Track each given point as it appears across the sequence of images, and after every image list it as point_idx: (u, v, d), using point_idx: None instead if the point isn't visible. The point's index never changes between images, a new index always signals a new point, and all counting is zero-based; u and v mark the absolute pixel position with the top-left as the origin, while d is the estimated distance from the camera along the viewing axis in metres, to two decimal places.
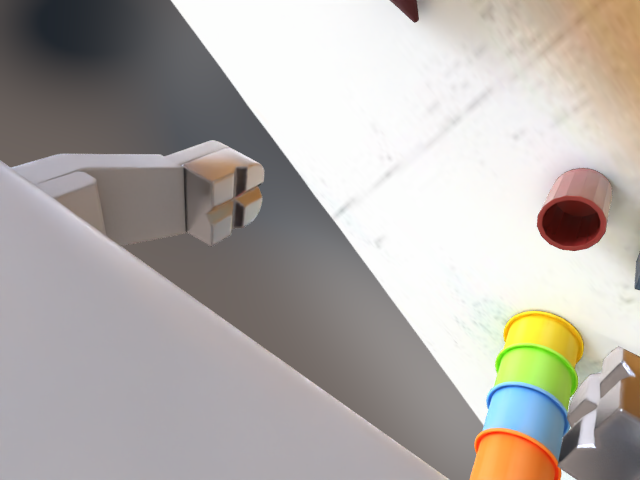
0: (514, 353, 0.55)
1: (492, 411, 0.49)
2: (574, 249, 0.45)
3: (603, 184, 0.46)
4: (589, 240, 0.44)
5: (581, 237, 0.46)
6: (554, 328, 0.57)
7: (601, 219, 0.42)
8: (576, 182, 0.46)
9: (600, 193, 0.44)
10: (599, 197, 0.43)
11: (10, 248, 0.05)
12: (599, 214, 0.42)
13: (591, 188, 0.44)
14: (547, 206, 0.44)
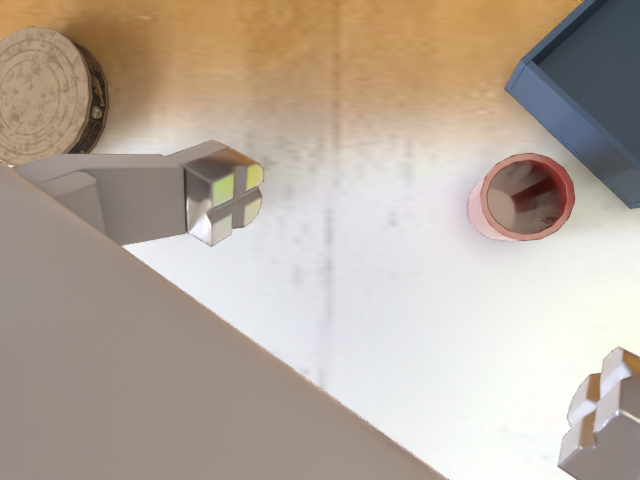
0: None
1: None
2: (567, 215, 0.30)
3: None
4: (564, 193, 0.30)
5: (555, 209, 0.32)
6: None
7: (542, 161, 0.30)
8: None
9: None
10: None
11: (10, 248, 0.05)
12: (534, 159, 0.30)
13: None
14: (485, 205, 0.31)
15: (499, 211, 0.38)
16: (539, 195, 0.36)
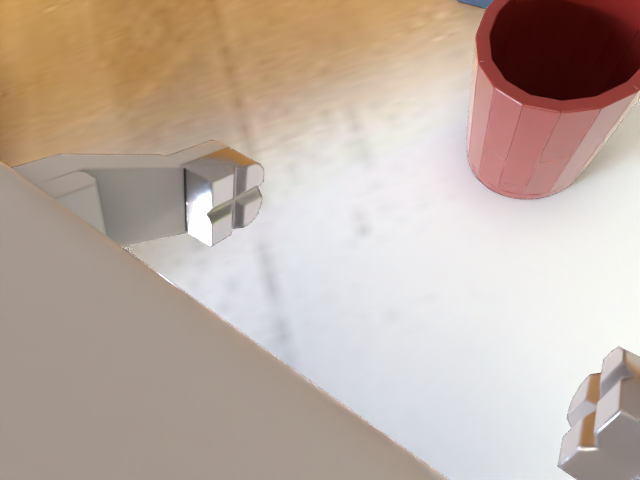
0: None
1: None
2: None
3: None
4: (638, 5, 0.15)
5: (631, 58, 0.16)
6: None
7: None
8: None
9: None
10: None
11: (10, 248, 0.05)
12: None
13: None
14: (497, 77, 0.15)
15: None
16: (579, 92, 0.21)
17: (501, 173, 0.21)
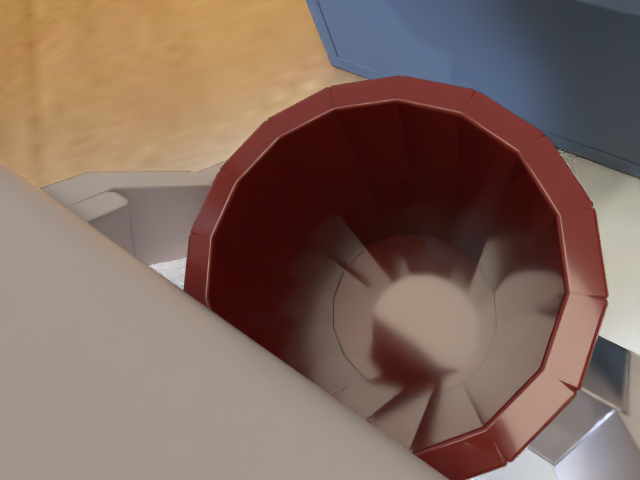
0: None
1: None
2: (592, 294, 0.05)
3: None
4: (531, 195, 0.06)
5: (532, 280, 0.07)
6: None
7: (382, 96, 0.07)
8: None
9: None
10: None
11: (10, 248, 0.05)
12: (348, 101, 0.07)
13: None
14: None
15: (403, 328, 0.14)
16: (481, 254, 0.12)
17: None
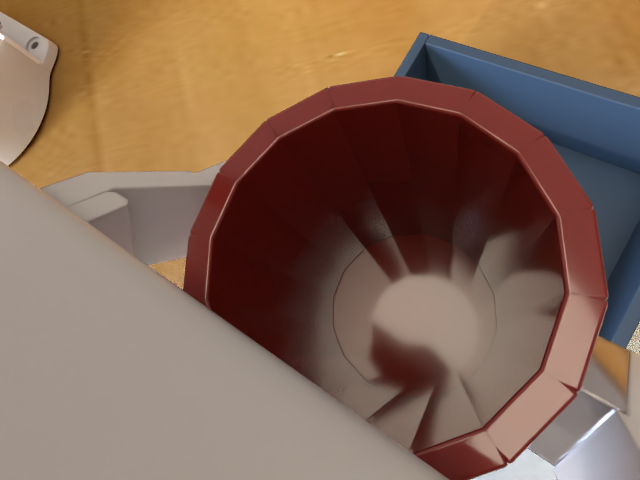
0: None
1: None
2: (592, 295, 0.05)
3: None
4: (531, 196, 0.06)
5: (532, 281, 0.07)
6: None
7: (382, 97, 0.07)
8: None
9: None
10: None
11: (10, 248, 0.05)
12: (348, 102, 0.07)
13: None
14: None
15: (403, 328, 0.14)
16: (481, 254, 0.12)
17: None
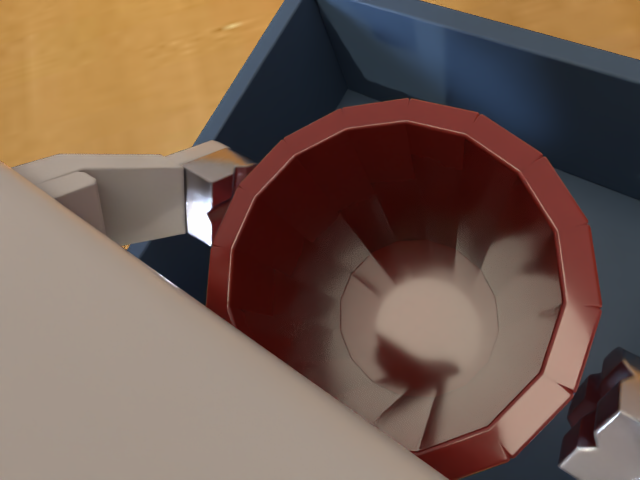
0: None
1: None
2: (588, 304, 0.06)
3: None
4: (531, 211, 0.07)
5: (533, 289, 0.08)
6: None
7: (392, 118, 0.07)
8: None
9: None
10: None
11: (10, 248, 0.05)
12: (360, 122, 0.08)
13: None
14: None
15: (408, 331, 0.14)
16: (484, 260, 0.13)
17: None
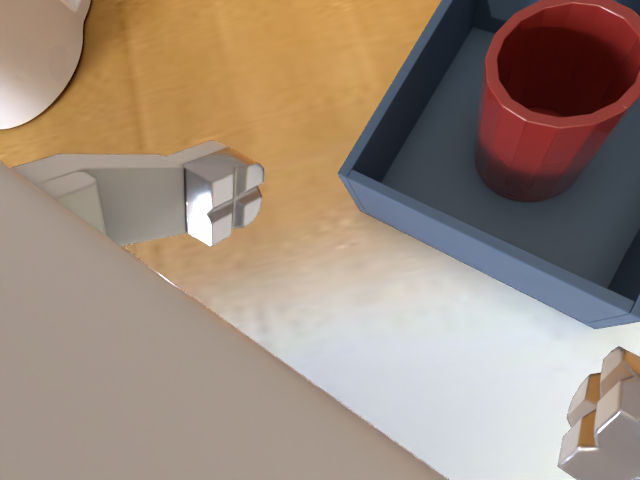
0: None
1: None
2: None
3: None
4: (627, 34, 0.17)
5: (621, 79, 0.19)
6: None
7: (566, 1, 0.18)
8: None
9: None
10: None
11: (10, 248, 0.05)
12: (551, 4, 0.18)
13: None
14: (504, 96, 0.18)
15: None
16: (577, 106, 0.23)
17: (506, 178, 0.23)
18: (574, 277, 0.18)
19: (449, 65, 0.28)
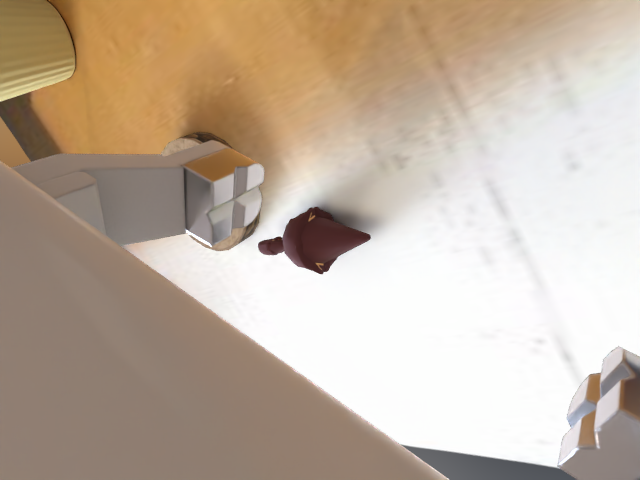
0: None
1: None
2: None
3: None
4: None
5: None
6: None
7: None
8: None
9: None
10: None
11: (10, 248, 0.05)
12: None
13: None
14: None
15: None
16: None
17: None
18: None
19: None
